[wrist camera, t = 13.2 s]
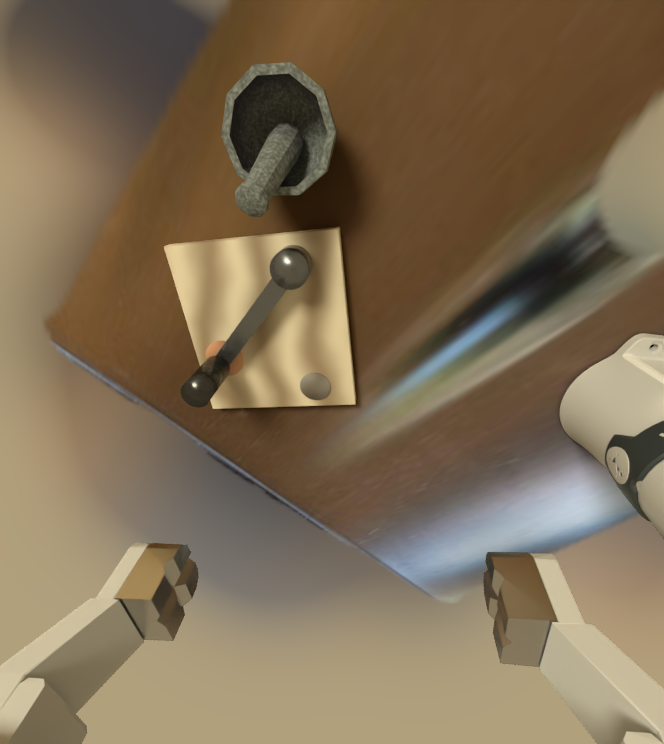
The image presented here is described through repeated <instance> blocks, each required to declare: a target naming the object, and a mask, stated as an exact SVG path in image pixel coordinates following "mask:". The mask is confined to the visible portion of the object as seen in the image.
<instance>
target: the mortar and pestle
mask: <svg viewBox="0 0 664 744" xmlns="http://www.w3.org/2000/svg"><path fill="white" fill-rule="evenodd" d="M221 137H222V139H223V142H224V144H225V146H226V149H227V151H228V154H229V156H230V159H231V161H232V164H233V166H234V168H235V171H236V173H237V175H239V176H240V177H241V178H243V179H244V180H245V182H243V183H242V184H241V185H240V186H239V187H238V188H237V190H236V191H235V195H236V203H237V205H238V206H239V208H240V209H241V211H243V212H244V213H246V214H248V215H249V216H254V217H261V216H262V215H263V214H264V213H265V212H267V210H268V209H269V201H270V199H271V198H272V196H276V195H301V194H303V193H304V192H305V191H306V190H307V189H308V188H309V187H310V186H312V185H313V184H314V183H315V182H316V181H317V180H318V179H320V178H321V177H322V176H323V175H324V174H325V173H326V172H328V168H329V164H330V160H331V156H332V152H333V148H334V145H335V141H336V137H337V129H336V126H335V123H334V119H333V116H332V113H331V109H330V106H329V102H328V99H327V96H326V92H325V91H324V89H323V88H321V87H320V86H319V85H318V84H317V83H315V82H314V81H313V80H312V79H311V78H309V77H308V76H307V75H306V74H304V73H303V72H302V71H301V70H300V69H298V68H297V67H296V66H295V65H294V64H292V63H291V62H289V63H273V64H258V65H252V67H251V68H250V69H249V70H248V71H247V72H246V73H245V74H244V75H243V77H242V78H241V79H240V80H239V81H238V82H237V83H236V84H235V86H234V87H233V88H232V89H231V90H230V91H229V92H228V93H227V95H226V103H225V111H224V119H223V127H222V135H221Z"/></svg>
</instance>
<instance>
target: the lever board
mask: <svg viewBox="0 0 664 744" xmlns="http://www.w3.org/2000/svg"><path fill="white" fill-rule="evenodd" d="M289 245H298V246H301V247H303V248H305V249H306V250H307V251H308V252H309V254H310V255H311V257H312V261H313V269H312V272H311V274H310V276H309V277H308V279H307V280H306V282H305V283H304V284H303V285H302V286H301V287H299V288H297V289H294V290H286V292H285V293H284V294H283V296H282V297H281V298H280V300H279V301H278V302H277V304H276V305H275V306H274V308H273V309H272V310H271V311H270V313H269V314H268V315H267V317H266V318H265V319H264V321H263V322H262V323H261V325H260V326H259V327H258V329H257V330H256V331H255V333H254V334H253V335H252V336H251V338H250V339H249V340H248V342H247V343H246V344H245V346H244V347H243V348H242V350H241V351H240V352H239V354H238V355H237V356H236V358H235V359H234V360H233V362H232V363H231V364H230V365H229V366H230V373H229V375H228V376H227V378H226V379H225V380H224V382H223V383H222V384H221V386H220V387H219V389H218V390H217V391H216V393H215V394H214V395H213V397H212V398H211V399H210V400H211V403H212V407H213V409H222V408H255V407H288V406H320V405H353V404H356V392H355V381H354V371H353V360H352V350H351V339H350V329H349V318H348V308H347V298H346V287H345V277H344V266H343V256H342V245H341V235H340V227H334V228H324V229H314V230H305V231H295V232H285V233H275V234H266V235H256V236H246V237H236V238H227V239H217V240H207V241H198V242H188V243H178V244H170V245H167V246H164V249H165V252H166V256H167V259H168V262H169V265H170V269H171V272H172V275H173V279H174V282H175V285H176V288H177V292H178V295H179V298H180V302H181V305H182V308H183V311H184V315H185V318H186V321H187V325H188V328H189V331H190V334H191V338H192V341H193V344H194V347H195V351H196V354H197V357H198V361H199V364H200V366H201V365H202V364H203V363H204V362H205V361H206V360H207V359H208V358H209V357H211V356H216V355H217V353H218V352H219V350H220V349H221V348H222V346H223V345H224V344H225V342H226V341H227V339H228V338H229V337H230V335H231V334H232V332H233V331H234V330H235V328H236V327H237V326H238V324H239V323H240V321H241V320H242V319H243V317H244V316H245V315H246V313H247V312H248V310H249V309H250V308H251V306H252V305H253V303H254V302H255V301H256V299H257V298H258V297H259V295H260V294H261V292H262V291H263V290H264V288H265V287H266V285H267V284H268V283H269V281H270V280H271V279H272V277H271V274H270V263H271V260H272V258H273V257H274V256H275V255H276V254H277V253H278V252H279V251H281V250H282V249H283V248H284V247H286V246H289Z"/></svg>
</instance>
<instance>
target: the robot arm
mask: <svg viewBox="0 0 664 744" xmlns="http://www.w3.org/2000/svg"><path fill="white" fill-rule="evenodd" d="M653 344H654V346H653V347H652V348H650V346H651V345H653ZM560 421H561V424H562V427H563V429H564V430H565V432H566V433H567V434H568V436H569V437H571V438H572V439H573V440H574V441H576V442H577V443H579V444H580V445H581V446H583V447H584V448H585V449H586V450H587V451H589V452H590V453H591V454H592V455H593V456H594V457H595V458H596V459H597V460H598V461H599V462H600V463H601V464H602V465H604V466H605V467H606V468H607V469H608V470H609V472H610V474H611V476H612V477H613V479H614V481H615V482H616V484H617V486H618V487H619V489H620V490H621V491H622V493H623V494H624V495H625V497H626V498H627V499H628V500H629V502H630V503H631V504H632V505H633V507H634V508H635V509H636V510H637V512H638V513H639V514H640V515H641V516H642V517H644V518H645V519H646V520H648V521H650V522H651V523H652V524H653V525H654V527H655V528H656V529H657V531H658V532H659V533H660V535H661V536H662V537H663V539H664V336H662V335H653V334H638V335H635V336H634V337H632V338H631V339H629V340H628V341H627V342H626V343H625V344H624V345H623V346H622V347H621V348H620V349H619V350H618V351H617V352H616V353H614V354H613V355H612V356H610V357H608V358H606V359H604V360H602V361H600V362H599V363H597V364H595V365H593V366H592V367H590V368H589V369H587V370H586V371H585V372H583V373H582V374H581V375H580V376H579V377H578V378H577V379H576V380H575V381H574V382H573V383H572V384H571V385H570V387H569V388H568V390H567V391H566V393H565V395H564V397H563V399H562V402H561V406H560ZM190 554H191V551H190V549H189V547H188V545H182V544H159V543H137V542H136V543H135V544H133V545H132V546H131V547H130V548H129V549H128V551H127V552H126V554H125V555H124V557H123V558H122V560H121V561H120V563H119V564H118V566H117V567H116V569H115V570H114V572H113V573H112V575H111V576H110V578H109V579H108V581H107V582H106V584H105V585H104V587H103V588H102V590H101V591H100V593H99V594H98V596H97V597H96V598H91V599H89V600H88V601H86V602H85V603H84V604H82V605H81V606H80V607H78V608H77V609H76V610H74V611H73V612H72V613H70V614H69V615H68V616H66V617H65V618H64V619H62V620H61V621H60V622H58V623H57V624H56V625H54V626H53V627H52V628H50V629H49V630H48V631H46V632H45V633H44V634H42V635H41V636H40V637H38V638H37V639H36V640H34V641H33V642H32V643H30V644H29V645H27V646H26V647H25V648H23V649H22V650H21V651H19V652H18V653H17V654H15V655H14V656H13V657H11V658H10V659H9V660H8V661H6V662H5V663H3V664H2V665H1V666H0V744H82V742H83V740H84V738H85V736H86V734H87V726H86V725H85V724H84V723H83V721H82V720H81V719H80V718H79V717H78V716H77V715H76V713H77V712H78V711H79V710H80V709H81V708H82V707H83V705H84V704H85V703H86V702H87V701H88V700H89V699H90V698H91V697H92V696H93V695H94V694H95V693H96V692H97V691H98V690H99V689H100V687H102V685H103V684H104V683H105V682H106V681H107V680H108V679H109V678H110V677H111V676H112V675H113V674H114V673H115V672H116V671H117V670H118V669H119V668H120V667H121V666H122V664H123V663H124V662H125V661H126V660H127V659H128V658H129V657H130V656H131V655H132V654H133V653H134V652H135V651H136V650H137V649H138V648H139V647H140V646H141V644H142V643H143V642H144V640H166V641H173V640H174V638H175V635H176V634H177V631H178V629H179V627H180V625H181V622H182V620H183V618H184V616H185V613H184V608H183V606H184V605H185V604H186V603H187V602H189V601H190V600H191V599H192V597H193V595H194V592H195V590H196V587H197V582H198V568H197V565H196V563H195V562H194V561H193V560H191V559H190V558H189V556H190ZM485 562H486V565H487V569H488V570H487V571H486V572H484V581H483V583H484V594H485V600H486V605H487V609H488V613H489V615H490V616H491V617H492V618H493V619H494V620H495V621H494V628H493V635H494V639H495V643H496V647H497V651H498V655H499V659H500V663H503V664H514V665H524V666H535V667H540V668H539V669H540V671H541V672H542V673H543V674H544V676H545V677H546V679H547V680H548V681H549V682H550V684H551V685H552V686H553V687H554V689H555V690H556V691H557V693H558V694H559V695H560V697H561V698H562V699H563V700H564V702H565V703H566V704H567V706H568V707H569V708H570V709H571V711H572V712H573V713H574V715H575V716H576V717H577V718H578V720H579V721H580V722H581V724H582V725H583V726H584V727H585V729H586V730H587V731H588V733H589V734H590V735H591V736H592V738H593V739H594V740H595V742H596V743H597V744H664V689H663V688H662V687H661V686H660V685H659V684H658V683H656V682H655V681H654V680H653V679H652V678H651V677H650V676H649V675H648V674H647V673H646V672H645V671H643V670H642V669H641V668H640V667H639V666H638V665H637V664H636V663H635V662H634V661H632V660H631V659H630V658H629V657H628V656H627V655H626V654H625V653H624V652H623V651H621V649H619V648H618V647H617V646H616V645H615V644H614V643H613V642H612V641H611V640H610V639H608V638H607V637H606V636H605V635H604V634H603V633H602V632H601V631H600V630H599V629H597V628H596V627H595V626H594V625H593V624H586V623H585V621H584V619H583V617H582V614H581V612H580V610H579V608H578V606H577V603H576V601H575V599H574V597H573V595H572V592H571V590H570V588H569V586H568V583H567V581H566V579H565V577H564V575H563V573H562V570H561V568H560V566H559V564H558V561H557V559H556V558H555V557H554V556H553V554H542V553H518V552H488V553H487V554H486V561H485Z"/></svg>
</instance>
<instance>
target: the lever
mask: <svg viewBox="0 0 664 744" xmlns="http://www.w3.org/2000/svg"><path fill="white" fill-rule="evenodd" d="M312 269H313V261H312V257H311V255H310V254H309V252H308V251H307V250H306V249H305V248H303V247H301V246H298V245H289V246H286V247H284V248H283V249H282V250H281V251H279V252H278V253H277V254H276V255H275V256H274V257H273V258H272V260H271V263H270V274H271V277H272V279H271V280H270V281H269V283H268V284H267V285H266V287H265V288H264V290H263V291H262V292H261V294H260V295H259V297H258V298H257V299H256V301H255V302H254V303H253V305H252V306H251V308H250V309H249V310H248V312H247V313H246V315H245V316H244V317H243V319H242V320H241V321H240V323H239V324H238V326H237V327H236V328H235V330H234V331H233V332H232V334H231V335H230V337H229V338H228V339H227V341H226V342H225V344H224V345H223V346H222V348H221V349H220V350H219V352H218V353H217V355H216V356H211V357H209V358H208V359H207V360H206V361H205V362H204V363H203V364H202V365H201V366H200V367H199V368H198V370H197V371H196V372H195V373H194V374H193V375H192V376H191V377H190V378H189V380H188V381H187V382H186V383H185V384H184V385H183V386H182V388H181V396H182V398H183V399H184V401H185V402H186V403H188V404H189V405H191V406H194V407H203V406H205V405H207V403H208V402H209V401H210V399H211V398H212V397H213V395H214V394H215V393H216V391H217V390H218V389H219V387H220V386H221V384H222V383H223V382H224V380H225V379H226V378H227V376H228V375H229V373H230V366H229V365H230V364H231V363H232V362H233V360H234V359H235V358H236V356H237V355H238V354H239V352H240V351H241V350H242V348H243V347H244V346H245V344H246V343H247V342H248V340H249V339H250V338H251V336H252V335H253V334H254V333H255V331H256V330H257V329H258V327H259V326H260V325H261V323H262V322H263V321H264V319H265V318H266V317H267V315H268V314H269V313H270V311H271V310H272V309H273V308H274V306H275V305H276V304H277V302H278V301H279V300H280V298H281V297H282V296H283V294H284V293H285V292H286V290H294V289H297V288H299V287H301V286H302V285H303V284H304V283H305V282H306V280H307V279H308V277H309V276H310V274H311V272H312Z"/></svg>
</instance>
